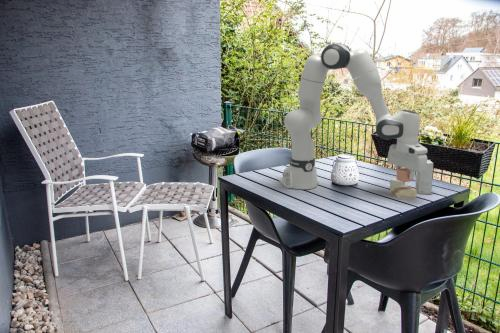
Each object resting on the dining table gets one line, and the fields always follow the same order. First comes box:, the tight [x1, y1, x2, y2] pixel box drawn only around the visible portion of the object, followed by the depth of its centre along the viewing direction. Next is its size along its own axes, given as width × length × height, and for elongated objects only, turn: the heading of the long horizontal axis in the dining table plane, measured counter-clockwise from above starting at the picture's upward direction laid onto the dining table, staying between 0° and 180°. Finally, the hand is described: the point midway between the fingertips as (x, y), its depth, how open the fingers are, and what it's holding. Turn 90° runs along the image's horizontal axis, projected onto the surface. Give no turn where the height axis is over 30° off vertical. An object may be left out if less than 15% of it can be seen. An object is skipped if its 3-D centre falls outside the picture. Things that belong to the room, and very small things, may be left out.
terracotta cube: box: [395, 167, 415, 183], centre depth 171 cm, size 5×5×5 cm
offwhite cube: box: [389, 177, 406, 190], centre depth 183 cm, size 5×5×5 cm
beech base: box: [389, 184, 418, 200], centre depth 173 cm, size 8×8×4 cm
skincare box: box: [414, 159, 434, 195], centre depth 177 cm, size 8×6×15 cm
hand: (404, 176), depth 171 cm, fingers closed on terracotta cube, 5 cm apart
